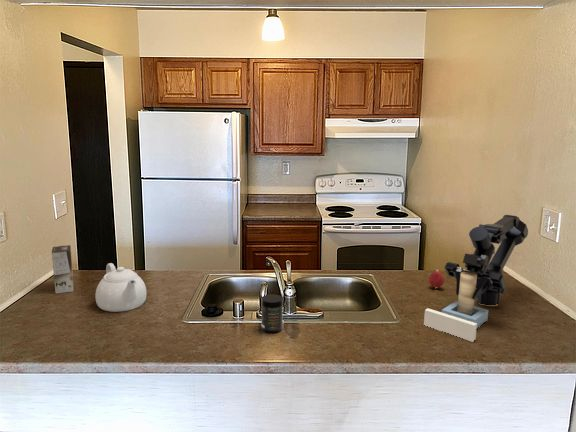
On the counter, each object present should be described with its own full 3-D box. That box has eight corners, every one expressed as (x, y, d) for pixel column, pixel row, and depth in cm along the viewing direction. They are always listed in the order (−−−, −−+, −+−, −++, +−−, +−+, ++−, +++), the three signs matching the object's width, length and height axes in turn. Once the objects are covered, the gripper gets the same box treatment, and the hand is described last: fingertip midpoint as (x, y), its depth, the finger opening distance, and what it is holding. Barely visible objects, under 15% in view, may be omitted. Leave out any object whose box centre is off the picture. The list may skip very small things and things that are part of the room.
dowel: (461, 310, 156) (464, 270, 153) (475, 314, 152) (479, 274, 149) (454, 314, 152) (458, 274, 150) (468, 319, 149) (473, 277, 146)
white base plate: (450, 310, 163) (451, 294, 162) (496, 324, 153) (498, 307, 151) (423, 327, 150) (424, 309, 148) (472, 344, 139) (474, 325, 137)
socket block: (455, 311, 161) (456, 300, 160) (487, 321, 153) (488, 310, 152) (440, 321, 153) (441, 309, 152) (473, 331, 145) (475, 319, 144)
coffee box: (74, 291, 175) (70, 250, 172) (55, 294, 172) (51, 252, 169) (73, 283, 183) (70, 244, 180) (55, 285, 181) (52, 246, 177)
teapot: (156, 295, 173) (155, 260, 170) (136, 315, 155) (133, 276, 152) (109, 292, 175) (106, 258, 172) (83, 312, 157) (80, 274, 154)
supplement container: (286, 330, 145) (287, 299, 143) (267, 335, 142) (268, 304, 140) (275, 322, 151) (276, 292, 149) (257, 327, 147) (257, 296, 145)
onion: (440, 292, 180) (442, 273, 179) (426, 289, 184) (427, 270, 182) (445, 288, 185) (447, 269, 183) (431, 285, 188) (432, 266, 186)
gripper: (449, 238, 157) (431, 277, 151) (506, 250, 144) (489, 292, 139) (457, 256, 164) (440, 293, 158) (512, 268, 151) (496, 309, 146)
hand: (465, 296), depth 150 cm, fingers closed on dowel, 5 cm apart
